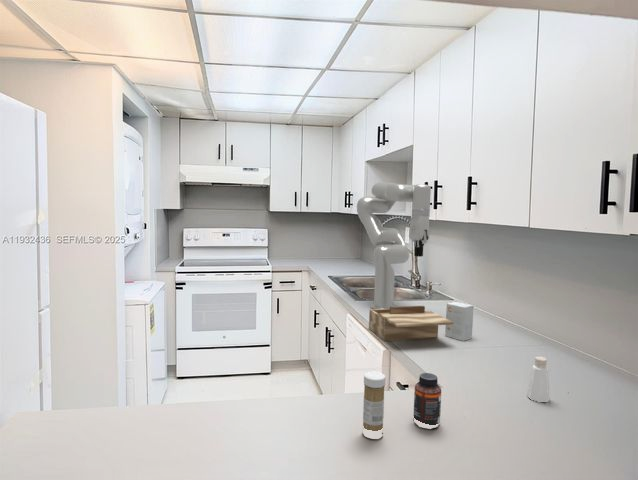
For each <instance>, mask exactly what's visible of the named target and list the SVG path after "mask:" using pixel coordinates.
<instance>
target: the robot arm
mask: <svg viewBox="0 0 638 480" xmlns="http://www.w3.org/2000/svg"><path fill="white" fill-rule="evenodd" d="M371 194H372V195H373V196H363V197H360V198H359V199H358V200H357V203H356V212H357V216H358V218H359V220H360V222H361V223H362V225H363V226H364V228H365V231H366V232H367V235H368V238H369V241H370V243H371V244H372V246H374V247H375V248H374V250H373V258H374V268H375V269H374V293H373V294H374V296H373V303H371V304H370V309H390V307H397V306H396V305H395V304H394V302H395V301H394V299H395V298H394V297H395V270H394V268H393V266H392V265H395V264H396V265H397V264H405V263H406V262H407V261H408V260H409V257H410V252H409V249H408V247H407V244H406V242H405V240H404V238H403V236H402V234H401V232H400V231H399V230H398V229H397V228H394V227H384V226H383V224H382V222H381V220H380V219H379V218H378V217H377V216H376V215H375V214H387V213H388V212H389V211H391V209H392V208H393V206H394V205H395V204H396V202H403V203H404V202H407V203H411V217H410V222H409V223H410V224H409V233H408V238H409V239H410V240H411V241H412V242H413V246H414V255H413V256H415V257H423V256H424V247H425V244H427V241H428V240H429V239H430V211H431V194H432V191H431V186H430V185H429V184H403V183H402V184H400V183H396V182H387V181H386V182H385V181H379V182H376V183H374V184H373V185H372V187H371Z"/></svg>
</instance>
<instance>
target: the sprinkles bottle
mask: <svg viewBox="0 0 638 480" xmlns="http://www.w3.org/2000/svg"><path fill="white" fill-rule="evenodd" d="M363 385H364V386H363V387H364V391H363V407H362V408H363V412H362V420H363V421H362V427H363V426H364V428H365V429H367V430H372V431H378V430H381V429H382V428H383V429H384V413H385V411H384V410H385V406H384V405H385V385H386V375H385V374H384V373H382V372H379V371H368V372H366V373H364V375H363Z"/></svg>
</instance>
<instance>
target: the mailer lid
mask: <svg viewBox="0 0 638 480" xmlns="http://www.w3.org/2000/svg"><path fill="white" fill-rule="evenodd" d="M379 315H380V316H381V317H383V318H384V319H386V320H387V321H389V322H390V323H392V324H393V325H395V326H396V327H409V326H430V325H438V326H446V325H451V324H453V322H452V321H450V320H448V319H446V317H443V316H441V315H440V314H438V313H436V312H434V311H432V310H426V306H425V305H409V306H406V305H404V306H403V305H402V306H396V307H390V313H379Z"/></svg>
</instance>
